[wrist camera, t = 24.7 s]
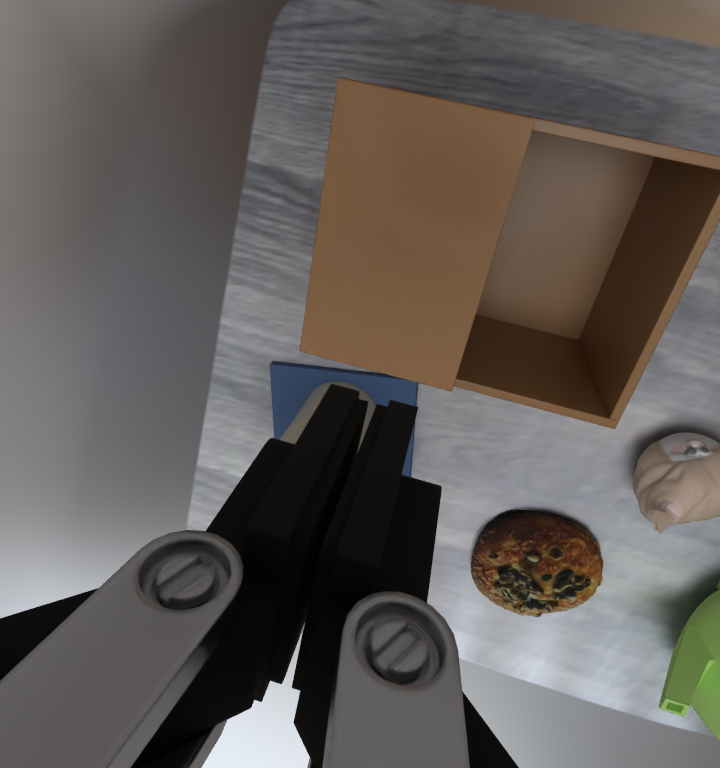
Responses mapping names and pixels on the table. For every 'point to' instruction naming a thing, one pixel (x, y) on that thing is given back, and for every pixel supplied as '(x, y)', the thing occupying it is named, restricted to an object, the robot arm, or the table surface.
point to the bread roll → (536, 563)
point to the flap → (408, 229)
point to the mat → (301, 380)
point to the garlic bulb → (679, 480)
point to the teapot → (697, 666)
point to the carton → (588, 269)
